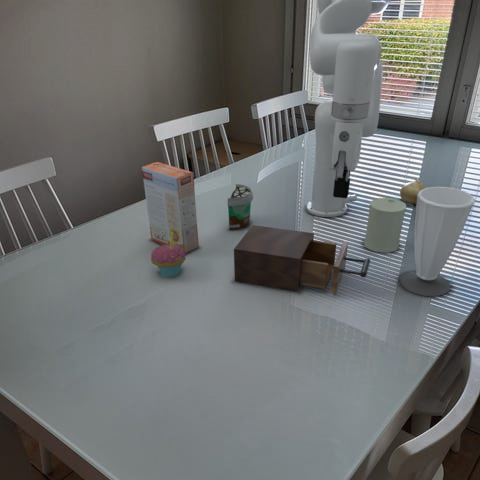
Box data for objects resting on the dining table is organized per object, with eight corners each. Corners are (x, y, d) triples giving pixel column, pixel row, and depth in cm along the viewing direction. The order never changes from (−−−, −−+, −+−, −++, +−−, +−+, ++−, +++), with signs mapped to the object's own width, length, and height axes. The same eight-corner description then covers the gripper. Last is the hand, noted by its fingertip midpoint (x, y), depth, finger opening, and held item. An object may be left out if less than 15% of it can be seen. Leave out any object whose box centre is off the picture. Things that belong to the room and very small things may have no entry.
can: (401, 240, 131) (409, 198, 124) (395, 255, 124) (403, 212, 117) (368, 235, 134) (374, 194, 127) (360, 249, 128) (366, 206, 121)
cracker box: (200, 247, 130) (194, 171, 118) (183, 255, 126) (176, 177, 114) (167, 233, 138) (158, 160, 126) (150, 240, 134) (140, 165, 122)
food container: (249, 233, 137) (249, 200, 131) (228, 232, 138) (227, 198, 132) (256, 216, 146) (256, 184, 140) (237, 215, 147) (236, 183, 142)
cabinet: (311, 264, 121) (314, 233, 116) (298, 292, 111) (300, 258, 106) (252, 255, 126) (252, 224, 121) (234, 281, 115) (233, 248, 110)
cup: (424, 302, 107) (447, 210, 94) (389, 278, 115) (405, 192, 102) (461, 288, 111) (488, 199, 98) (424, 267, 119) (445, 182, 106)
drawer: (369, 271, 116) (373, 245, 112) (362, 298, 107) (366, 271, 103) (287, 259, 122) (289, 234, 118) (273, 283, 112) (274, 257, 108)
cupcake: (192, 266, 121) (188, 223, 114) (178, 283, 115) (173, 238, 108) (162, 262, 124) (156, 218, 117) (146, 278, 117) (139, 233, 110)
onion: (427, 206, 150) (432, 184, 146) (402, 207, 150) (406, 185, 146) (420, 197, 156) (424, 175, 152) (395, 197, 157) (399, 176, 153)
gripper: (364, 121, 90) (352, 211, 101) (373, 102, 101) (361, 186, 112) (324, 118, 92) (317, 207, 103) (338, 100, 103) (330, 182, 114)
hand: (340, 196), depth 108 cm, fingers closed
